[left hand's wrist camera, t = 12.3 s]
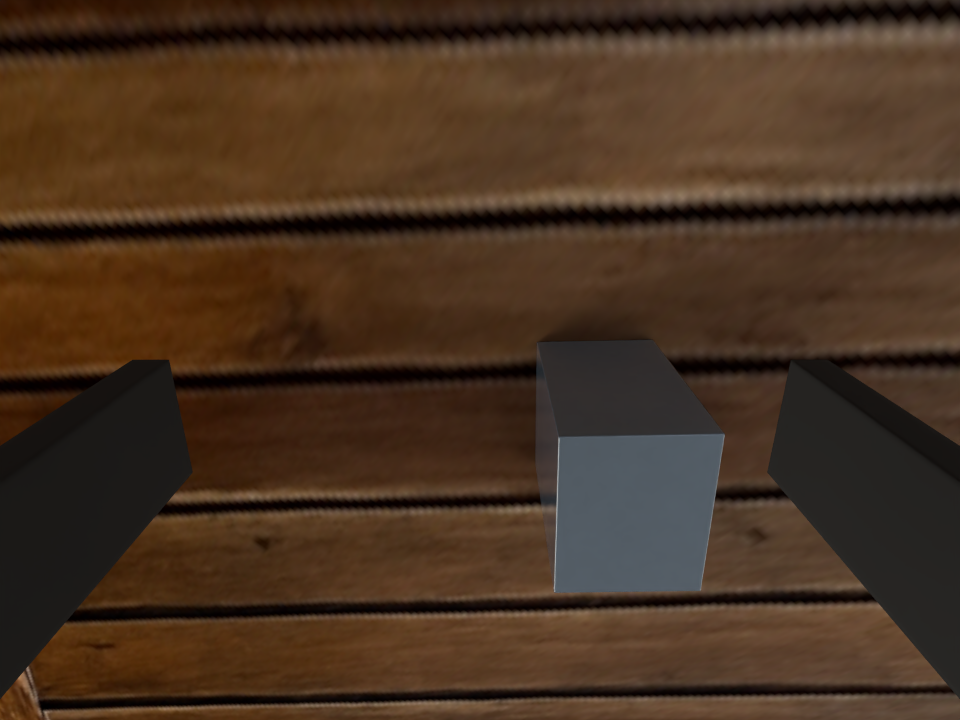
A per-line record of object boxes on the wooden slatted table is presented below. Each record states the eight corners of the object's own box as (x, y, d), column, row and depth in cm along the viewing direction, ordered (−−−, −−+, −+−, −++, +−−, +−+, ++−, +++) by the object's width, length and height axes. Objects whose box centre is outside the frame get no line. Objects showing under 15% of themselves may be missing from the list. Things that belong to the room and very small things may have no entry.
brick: (535, 463, 34) (553, 593, 25) (536, 341, 31) (558, 436, 22) (641, 461, 34) (701, 591, 25) (653, 339, 31) (725, 433, 22)
